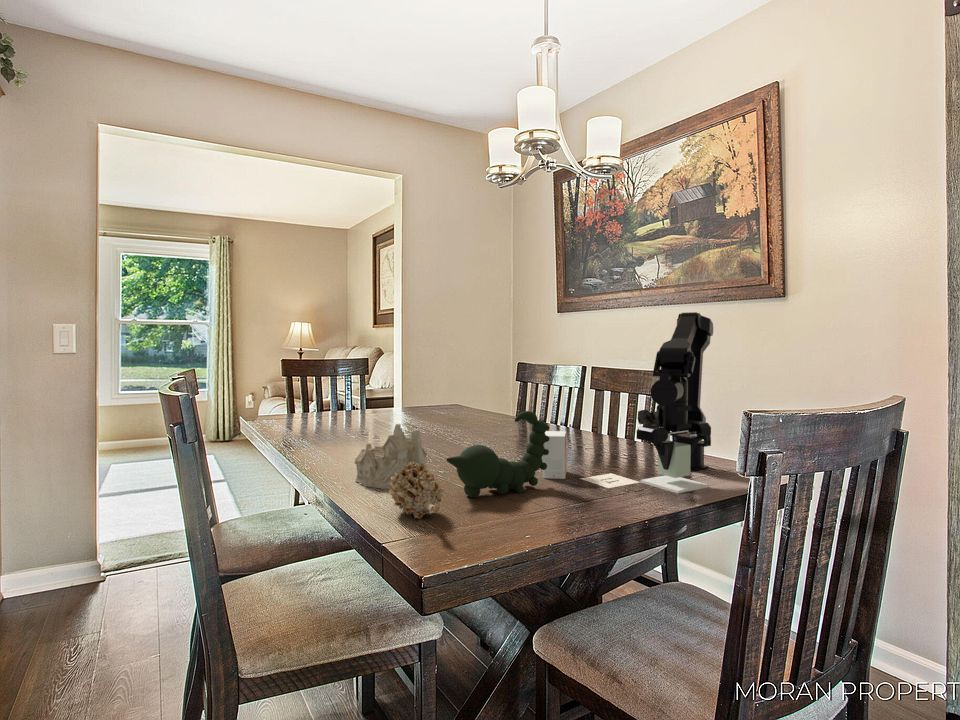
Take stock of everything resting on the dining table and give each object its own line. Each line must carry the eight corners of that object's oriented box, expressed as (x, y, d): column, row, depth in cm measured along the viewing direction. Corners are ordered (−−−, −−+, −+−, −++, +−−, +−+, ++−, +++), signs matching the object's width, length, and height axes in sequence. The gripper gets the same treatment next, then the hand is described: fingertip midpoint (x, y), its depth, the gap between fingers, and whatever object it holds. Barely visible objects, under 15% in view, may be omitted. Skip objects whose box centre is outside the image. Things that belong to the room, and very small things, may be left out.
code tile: (611, 474, 142) (611, 473, 142) (640, 483, 133) (640, 482, 133) (579, 480, 137) (579, 478, 137) (608, 489, 128) (608, 488, 128)
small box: (565, 479, 136) (565, 436, 136) (542, 478, 137) (542, 435, 137) (567, 471, 144) (566, 430, 144) (545, 471, 145) (544, 430, 145)
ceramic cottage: (441, 477, 139) (436, 417, 138) (389, 495, 126) (383, 428, 126) (399, 472, 149) (394, 415, 148) (347, 487, 137) (342, 426, 136)
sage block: (673, 470, 134) (673, 441, 134) (690, 475, 130) (690, 444, 130) (658, 473, 132) (658, 443, 131) (675, 477, 127) (675, 447, 127)
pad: (670, 476, 138) (670, 474, 138) (708, 487, 129) (708, 484, 129) (640, 482, 133) (640, 479, 133) (677, 493, 124) (677, 490, 124)
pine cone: (380, 507, 115) (379, 459, 115) (424, 501, 120) (424, 454, 119) (418, 542, 96) (417, 484, 95) (469, 533, 100) (469, 477, 100)
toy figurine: (529, 488, 135) (434, 493, 123) (535, 409, 135) (440, 406, 123) (553, 497, 127) (453, 504, 115) (559, 413, 127) (460, 411, 115)
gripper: (675, 395, 142) (674, 457, 142) (619, 400, 133) (619, 466, 133) (712, 399, 132) (712, 465, 133) (655, 405, 123) (655, 476, 124)
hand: (674, 468), depth 131 cm, fingers closed on sage block, 5 cm apart
